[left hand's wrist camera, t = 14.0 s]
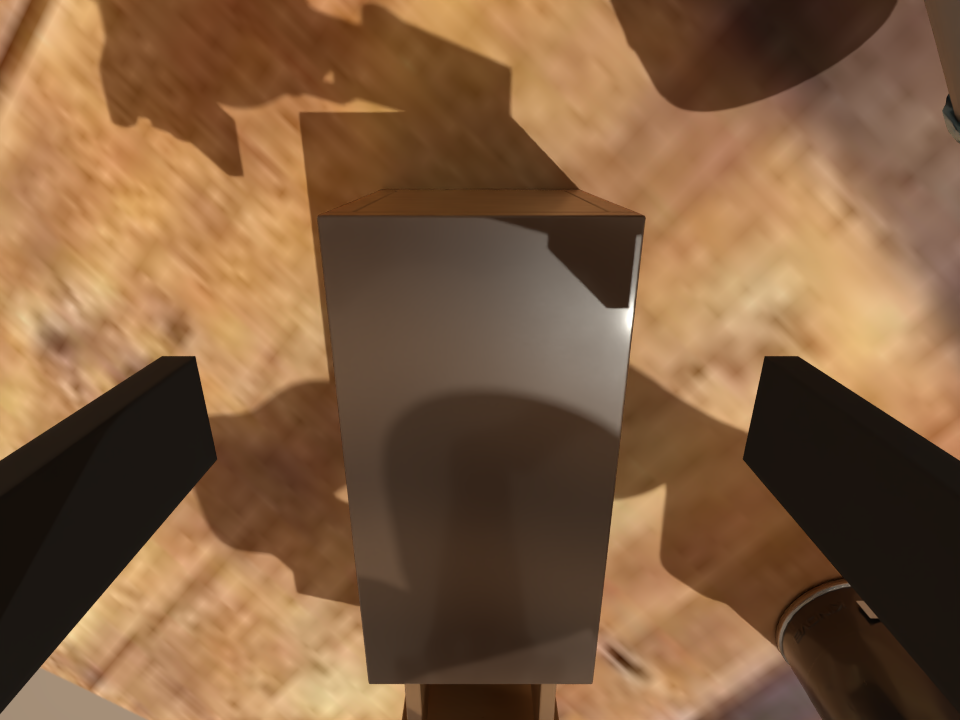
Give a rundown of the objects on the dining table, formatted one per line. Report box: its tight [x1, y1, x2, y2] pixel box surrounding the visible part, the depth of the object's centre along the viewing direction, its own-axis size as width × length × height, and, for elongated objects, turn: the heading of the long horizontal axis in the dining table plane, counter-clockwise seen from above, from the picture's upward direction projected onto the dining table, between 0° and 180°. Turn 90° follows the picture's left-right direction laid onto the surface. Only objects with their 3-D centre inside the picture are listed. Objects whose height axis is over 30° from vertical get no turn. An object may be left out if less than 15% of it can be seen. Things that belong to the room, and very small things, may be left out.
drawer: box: [402, 684, 559, 720], centre depth 31 cm, size 26×9×10 cm, turn 0°
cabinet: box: [317, 189, 645, 684], centre depth 26 cm, size 22×11×12 cm, turn 0°
